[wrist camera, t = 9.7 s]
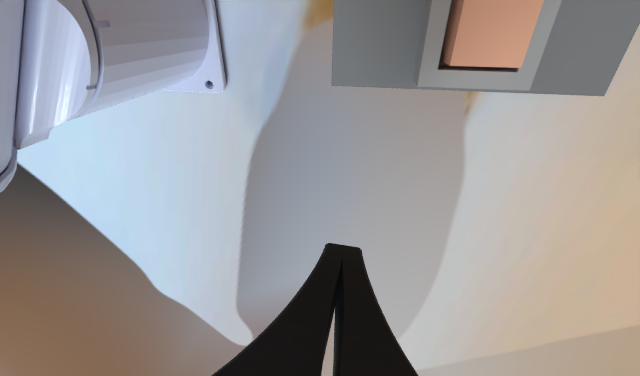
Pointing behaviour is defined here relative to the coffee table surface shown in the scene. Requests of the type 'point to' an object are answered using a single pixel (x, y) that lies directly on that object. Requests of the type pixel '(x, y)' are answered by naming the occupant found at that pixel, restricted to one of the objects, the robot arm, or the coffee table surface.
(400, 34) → the panel
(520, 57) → the push button
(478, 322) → the coffee table surface
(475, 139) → the coffee table surface
